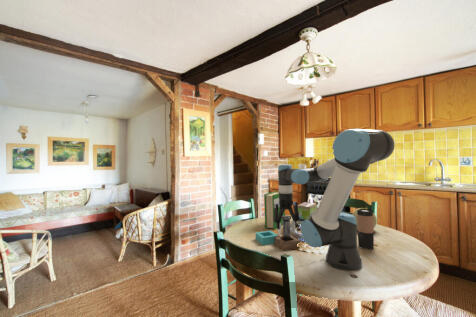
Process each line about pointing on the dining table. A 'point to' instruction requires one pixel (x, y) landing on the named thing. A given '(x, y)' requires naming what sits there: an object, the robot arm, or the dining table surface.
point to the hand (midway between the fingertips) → (286, 233)
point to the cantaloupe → (356, 217)
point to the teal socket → (266, 237)
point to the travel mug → (365, 228)
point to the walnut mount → (286, 243)
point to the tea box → (305, 211)
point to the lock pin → (286, 227)
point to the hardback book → (271, 209)
